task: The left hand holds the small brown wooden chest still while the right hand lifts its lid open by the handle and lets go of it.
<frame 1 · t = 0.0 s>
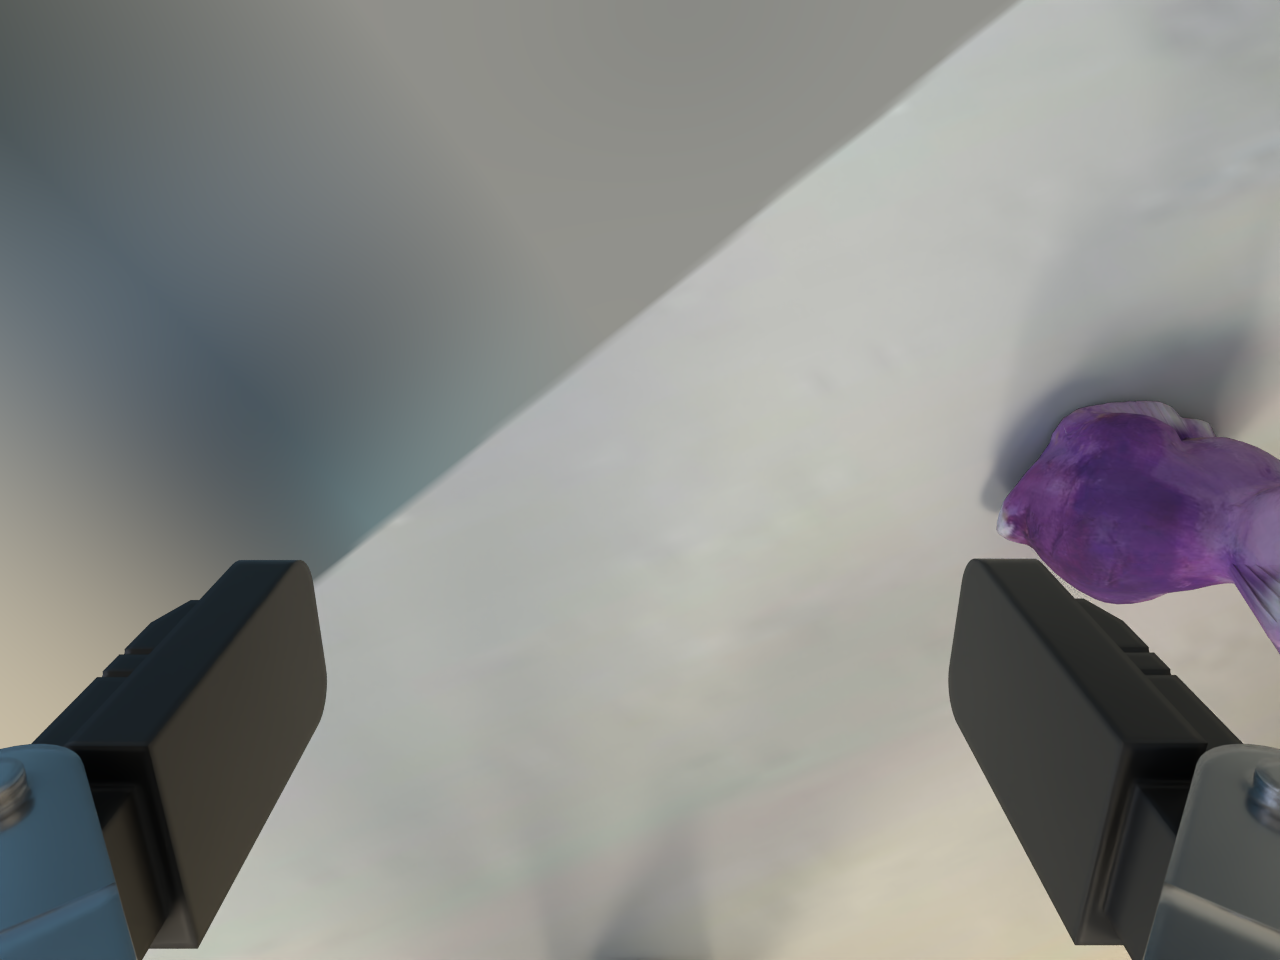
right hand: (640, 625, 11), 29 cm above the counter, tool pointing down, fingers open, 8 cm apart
figurine: (1116, 467, 42), on the counter
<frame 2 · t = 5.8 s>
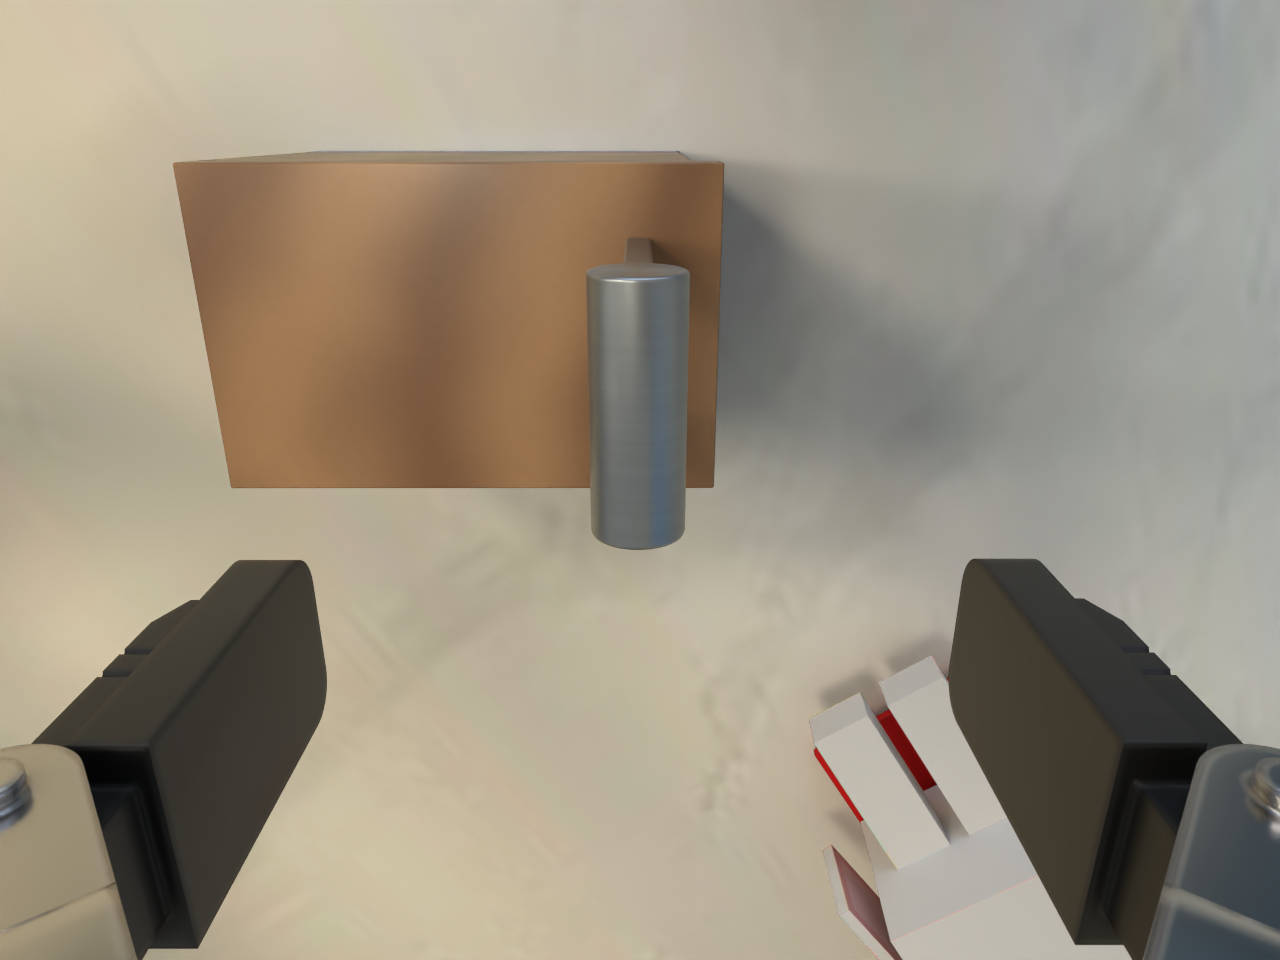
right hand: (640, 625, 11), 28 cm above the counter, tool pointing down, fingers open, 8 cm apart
lid: (436, 366, 23), point 15 cm above the counter, hinge at 0.0°
toy: (982, 850, 48), on the counter
chest: (505, 274, 37), on the counter
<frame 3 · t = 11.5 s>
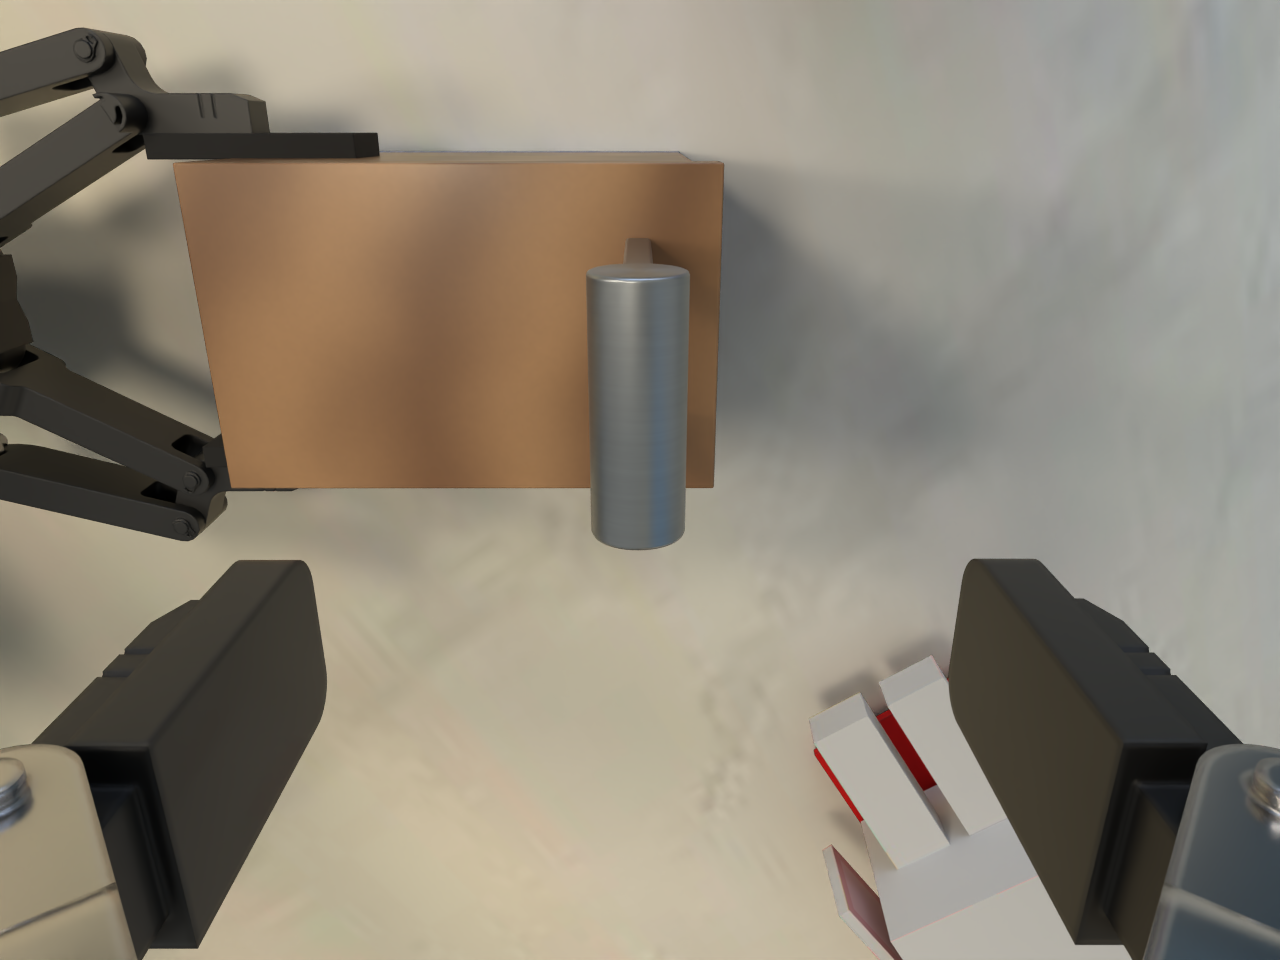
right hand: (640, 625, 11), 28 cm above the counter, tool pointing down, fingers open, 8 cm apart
lid: (436, 366, 23), point 15 cm above the counter, hinge at 0.0°
toy: (982, 850, 48), on the counter
chest: (505, 274, 37), on the counter, touching left hand
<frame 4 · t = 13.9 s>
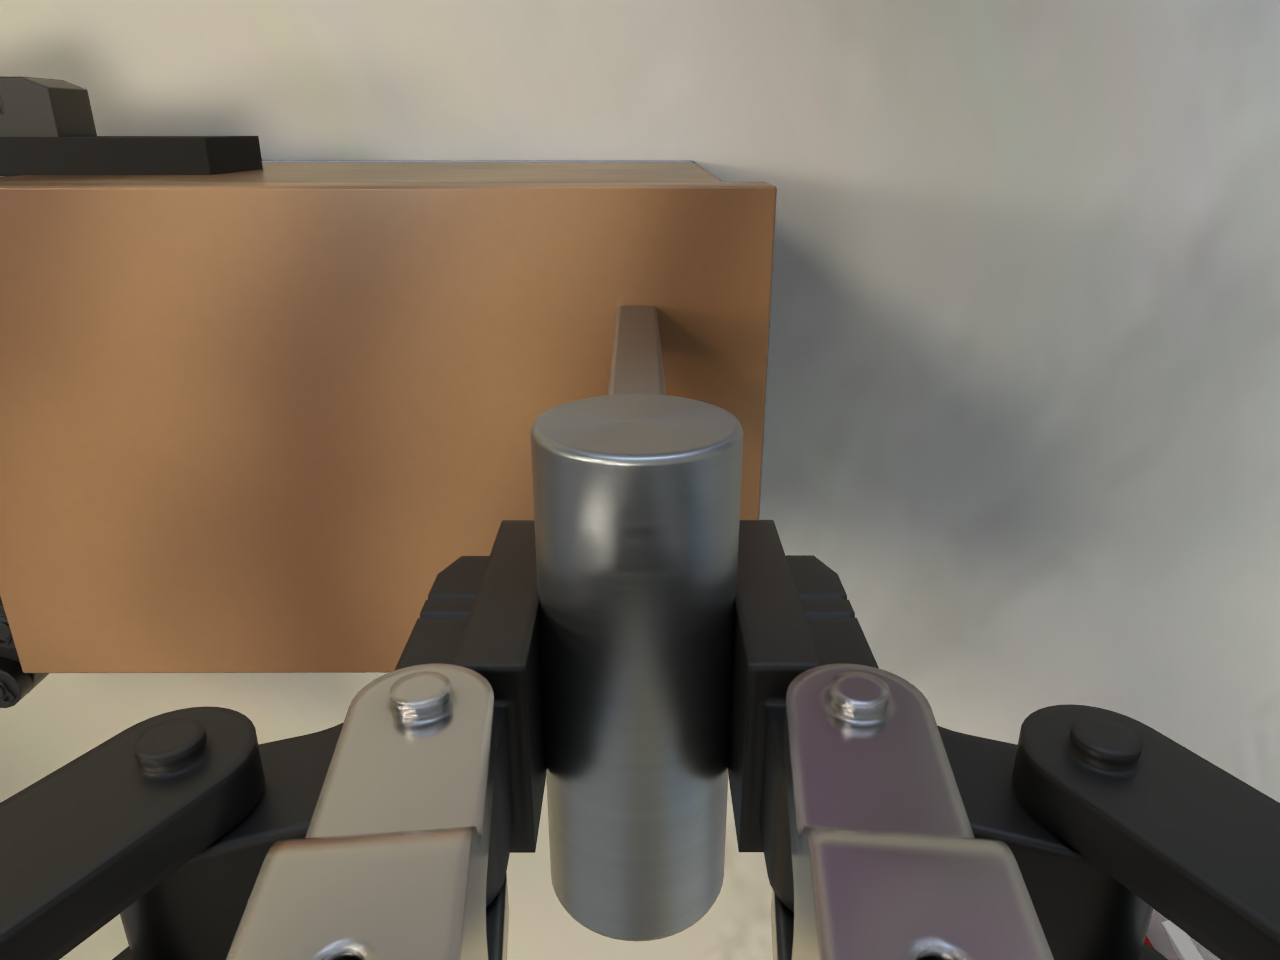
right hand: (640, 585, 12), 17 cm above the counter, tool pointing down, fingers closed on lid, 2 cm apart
lid: (294, 534, 13), point 15 cm above the counter, hinge at -0.1°, touching right hand
chest: (459, 324, 28), on the counter, touching left hand
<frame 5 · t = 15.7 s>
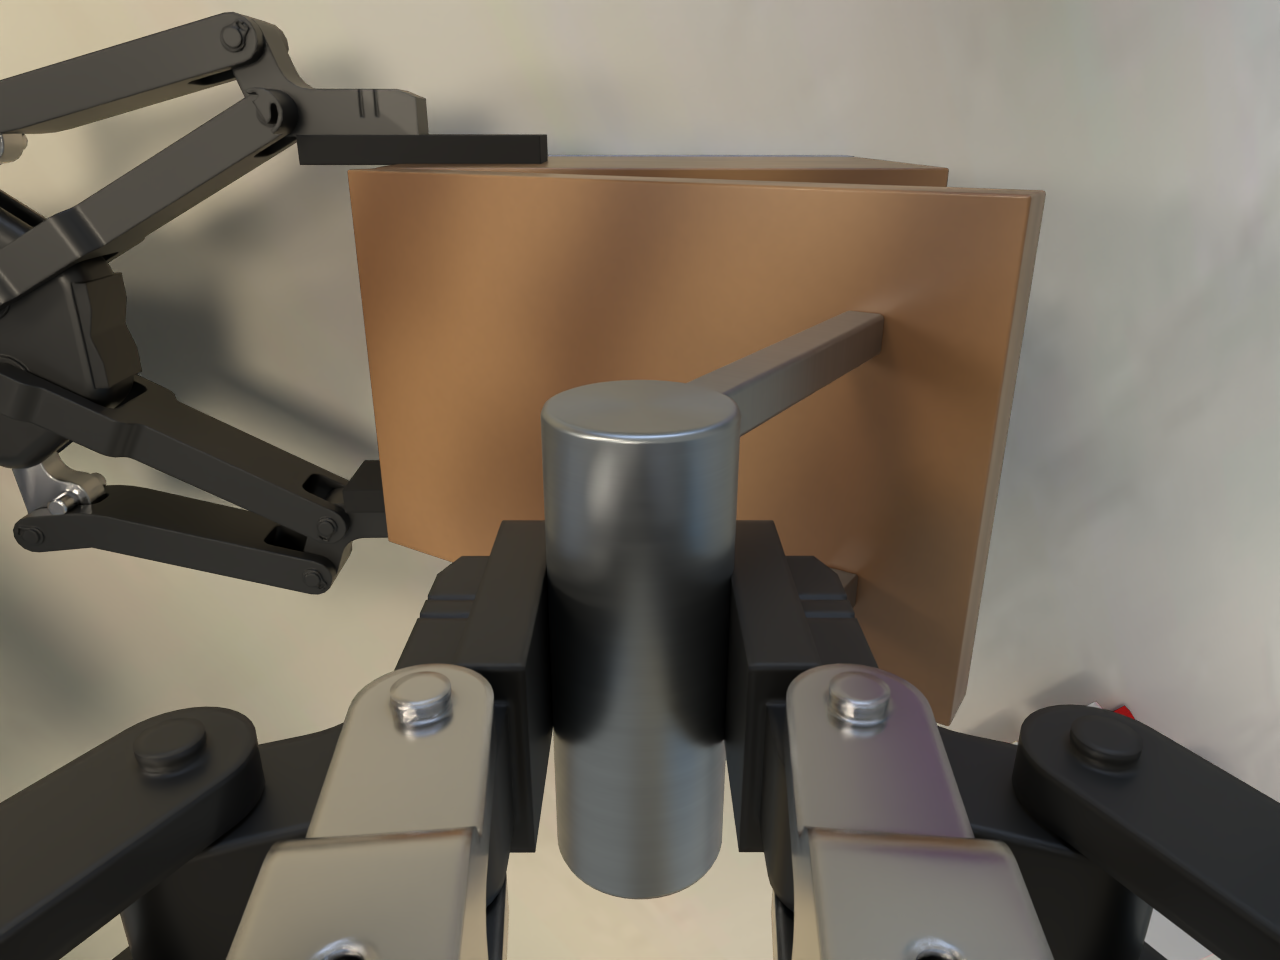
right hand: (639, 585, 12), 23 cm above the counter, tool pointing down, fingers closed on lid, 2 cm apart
left hand: (550, 327, 27), fingers closed on chest, 9 cm apart
lid: (507, 468, 16), point 19 cm above the counter, hinge at 34.3°, touching right hand
toy: (1115, 898, 46), on the counter
chest: (647, 290, 34), on the counter, touching left hand
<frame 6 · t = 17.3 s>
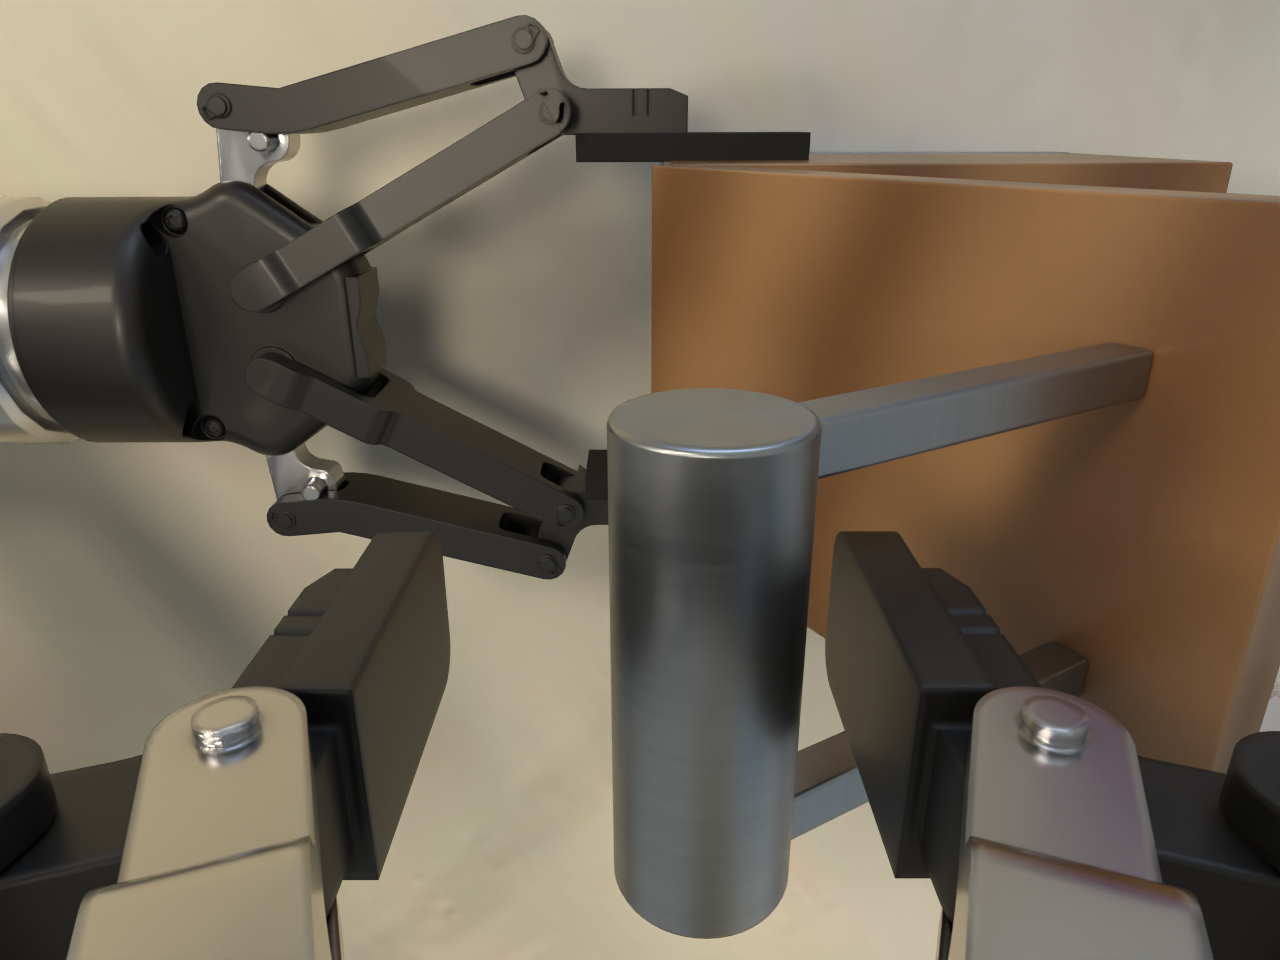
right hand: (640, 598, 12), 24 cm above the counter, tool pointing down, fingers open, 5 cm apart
left hand: (791, 320, 28), fingers closed on chest, 9 cm apart
lid: (707, 467, 16), point 20 cm above the counter, hinge at 58.7°
toy: (1269, 895, 46), on the counter
chest: (847, 285, 34), on the counter, touching left hand
when the left hand's fingers open (7 cm above the counter, at t = 21.4 s): chest stays where it is, on the counter.
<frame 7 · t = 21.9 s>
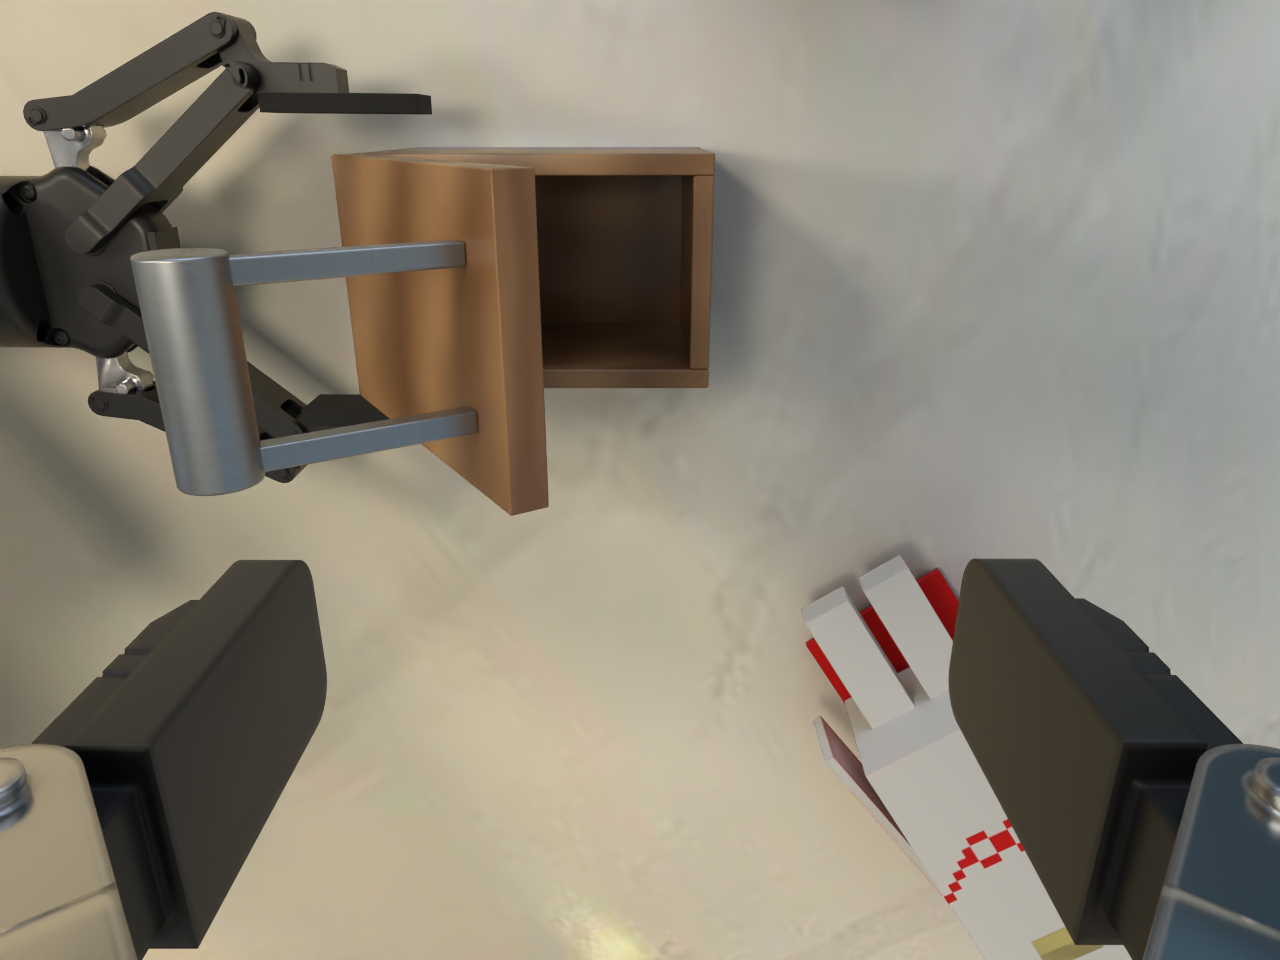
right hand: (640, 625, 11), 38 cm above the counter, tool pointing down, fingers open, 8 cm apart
lid: (302, 321, 28), point 20 cm above the counter, hinge at 57.5°
toy: (946, 731, 58), on the counter
chest: (559, 245, 47), on the counter
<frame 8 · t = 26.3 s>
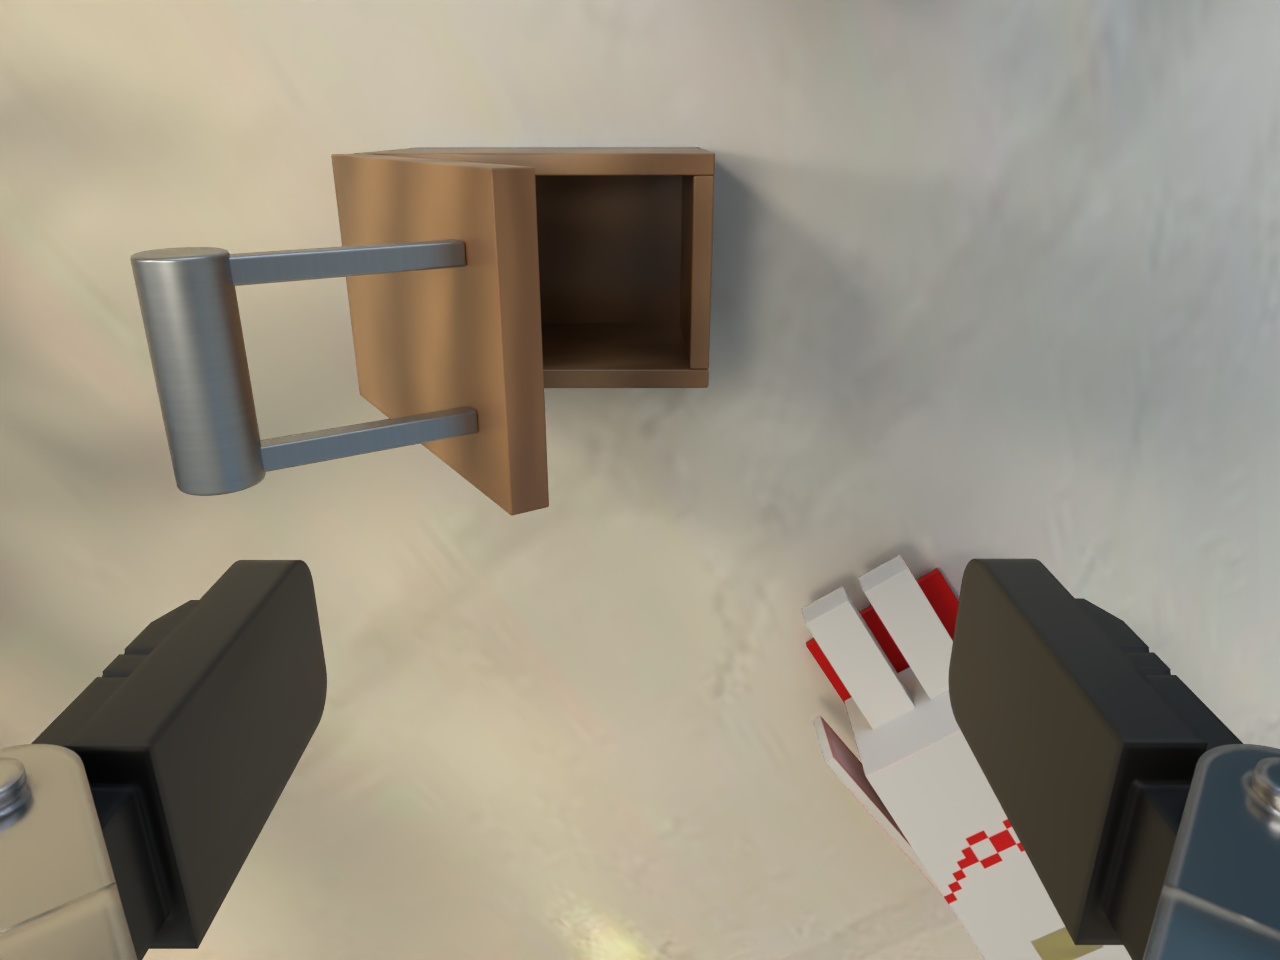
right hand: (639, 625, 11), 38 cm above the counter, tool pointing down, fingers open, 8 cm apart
lid: (302, 321, 28), point 20 cm above the counter, hinge at 57.5°
toy: (946, 731, 58), on the counter
chest: (559, 245, 47), on the counter
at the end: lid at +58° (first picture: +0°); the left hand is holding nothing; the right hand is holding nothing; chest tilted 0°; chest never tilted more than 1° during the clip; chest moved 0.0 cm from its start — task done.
